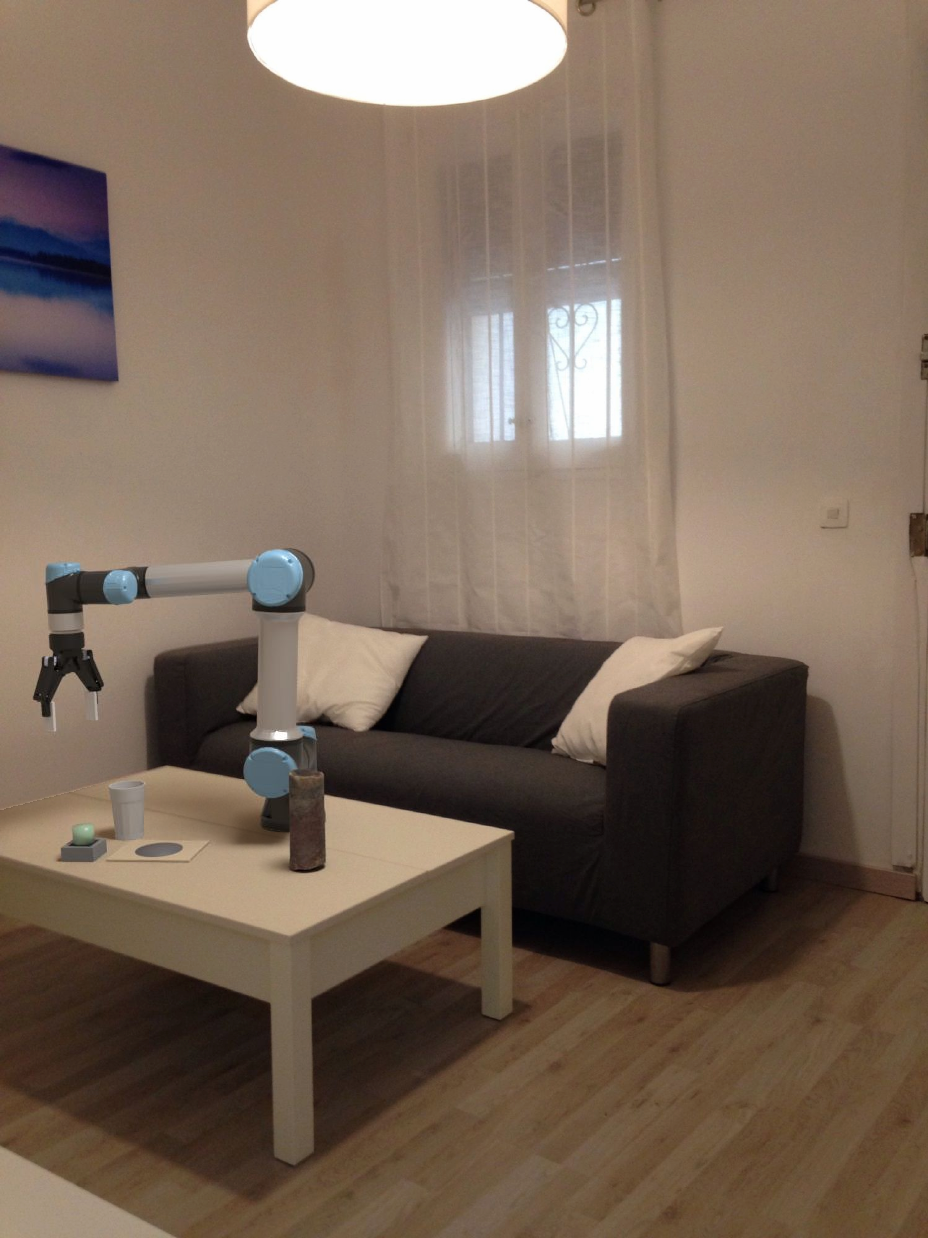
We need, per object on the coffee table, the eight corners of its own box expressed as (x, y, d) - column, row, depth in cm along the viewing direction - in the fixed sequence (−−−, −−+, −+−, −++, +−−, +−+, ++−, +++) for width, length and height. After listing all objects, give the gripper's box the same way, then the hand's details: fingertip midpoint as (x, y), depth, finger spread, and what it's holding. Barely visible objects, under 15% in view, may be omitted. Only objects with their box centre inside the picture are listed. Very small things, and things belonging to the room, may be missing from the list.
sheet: (209, 842, 248) (209, 840, 248) (188, 862, 234) (188, 860, 234) (131, 841, 250) (131, 839, 250) (105, 861, 236) (105, 859, 236)
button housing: (106, 851, 243) (106, 838, 242) (93, 862, 236) (92, 848, 235) (75, 851, 243) (75, 838, 243) (61, 861, 236) (60, 847, 236)
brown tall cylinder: (310, 859, 235) (307, 765, 233) (334, 865, 231) (331, 770, 229) (282, 868, 229) (279, 772, 227) (306, 875, 225) (303, 778, 223)
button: (97, 839, 241) (97, 823, 241) (89, 845, 237) (88, 829, 236) (78, 839, 241) (77, 823, 241) (69, 845, 237) (68, 829, 237)
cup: (137, 842, 249) (134, 789, 248) (104, 840, 251) (101, 788, 250) (154, 832, 257) (151, 781, 256) (122, 830, 259) (119, 779, 257)
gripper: (90, 625, 262) (95, 714, 264) (11, 637, 239) (17, 735, 241) (116, 626, 259) (121, 716, 262) (39, 638, 236) (45, 737, 238)
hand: (71, 725), depth 251 cm, fingers open, 13 cm apart
